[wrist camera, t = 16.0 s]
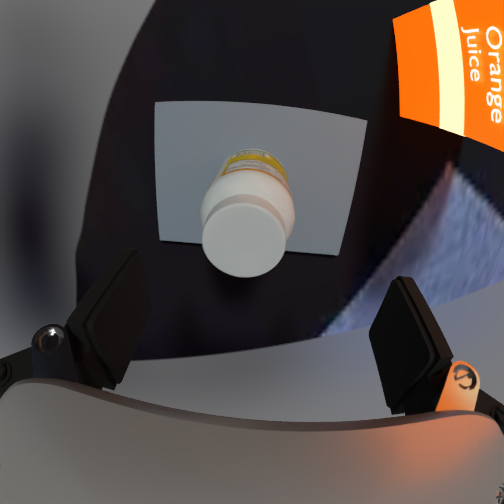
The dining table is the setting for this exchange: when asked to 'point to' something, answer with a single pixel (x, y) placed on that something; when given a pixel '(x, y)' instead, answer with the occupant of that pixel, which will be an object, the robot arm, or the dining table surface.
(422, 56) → the orange juice
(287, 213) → the supplement bottle
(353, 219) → the dining table surface
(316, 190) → the felt mat
